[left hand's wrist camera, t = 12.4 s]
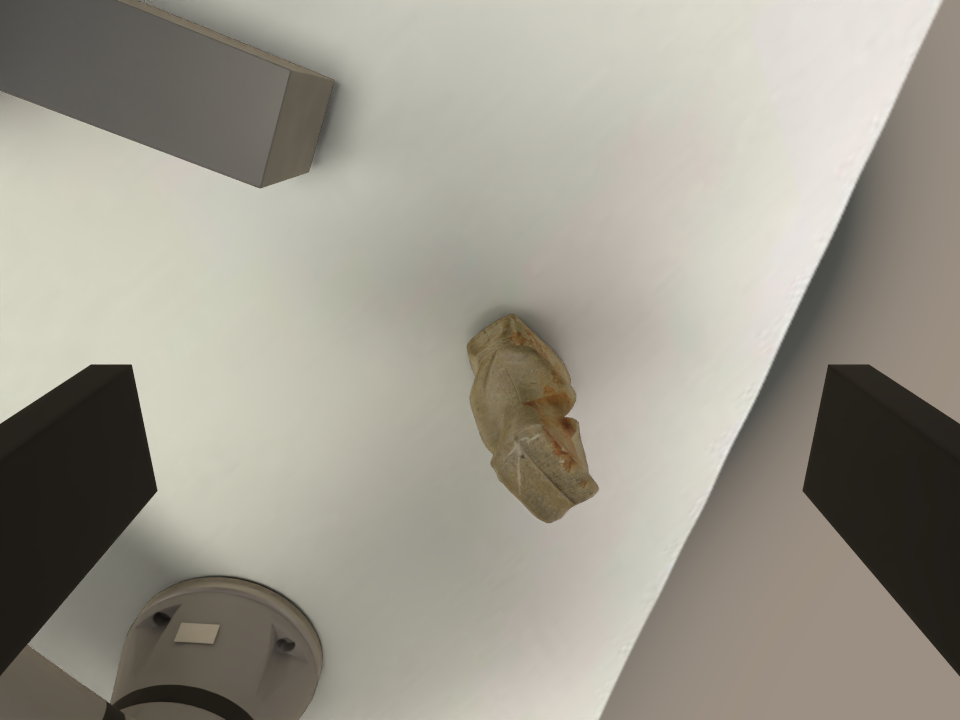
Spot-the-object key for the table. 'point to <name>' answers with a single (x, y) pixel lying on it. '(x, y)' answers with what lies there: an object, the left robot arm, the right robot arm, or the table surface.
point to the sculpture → (528, 419)
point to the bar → (165, 84)
